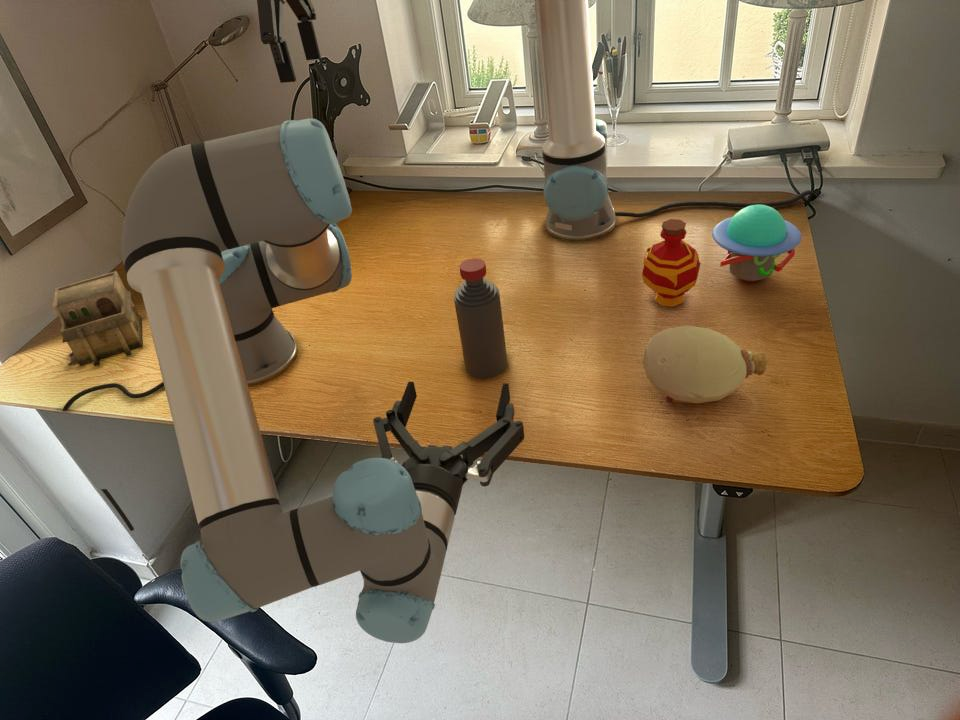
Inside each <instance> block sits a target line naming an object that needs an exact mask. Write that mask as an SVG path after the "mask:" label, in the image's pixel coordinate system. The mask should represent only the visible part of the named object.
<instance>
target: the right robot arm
mask: <svg viewBox="0 0 960 720" xmlns="http://www.w3.org/2000/svg"><path fill="white" fill-rule="evenodd" d="M533 1H534V9H535V19H536V30H537V39H538V49H539V58H540V66H541V67H540V68H541V76H542V87H543V94H544V104H545V114H546V123H547V132H548V134H547V135H548V137H547V139H546V140H545V142H543V144H542V146H541V152H542V162H543V164H542V165H543V173H544V185H543V189H542V190H543V191H542V192H543V196H544V201H545V204H546V206H547V207H548V209H547V213H546V216H545V229H546V232H547V233H548V234H549V236H550V235H551V236H552V237H553V238H556V239H558V240H561V241H567V242H586V241H587V242H588V241H594V240H597V239H600V238H604V237H605V236H607V235H608V234H610V233H611V232H613V230H614V229H615V227H616V223H617V218H616V217H627V218H628V217H629V218H645V217H649V216H652V215H655V214H657V213H660V212H663V211H665V210H668V209H673V208H681V207H707V206H708V207H728V208H742V209H743V208H745V207H748V206H751V205H766V206H769V207H772V208H774V207H781V206H786V205H792V204H793V203H796V202H797V201H800V200H801V199H803V198H804V197H807V196H809V195H810V196H812V197H814V198H817V197H819V196H820V195H819V194H818V195H817V196H813V195H812V194H811V190H812V189H809V190H804V191H803V192H801V193H799V194H797V195H795V196H793V197H792V198H790V199H785V200H784V199H783V200H778V201H769V202H768V201H767V202H731V201H717V200H715V201H714V200H712V201H711V200H709V201H707V200H705V201H704V200H700V201H699V200H697V201H696V200H693V201H690V200H689V201H678V202H672V203H667V204H664V205H661V206H659V207H656V208H653V209H651V210H648V211H644V212H629V211H615V209H614V205H613V204H612V200H611V198H610V195H609V185H608V137H609V133H608V126H607V123H606V122H605V121H604V120H601V119H600V118H596V113H595V111H596V110H595V99H594V78H593V68H592V67H593V66H592V65H593V64H592V49H591V34H590V20H589V19H590V18H589V17H590V16H589V2H588V1H589V0H533ZM256 3H257V4H256V5H257V13H258V24H259V34H260V35H259V36H260V41H261V42H262V44H263V45H269V48H270V51H271V54H272V58H273V61H274V64H275V68H276V72H277V75H278V79H279V83H280V84H284V83H294V82H296V81H297V78H296V77H297V76H296V74H295V70H294V66H293V62H292V58H291V56H290V51H289V48H288V44H287V41H286V40H284V39H283V38H284V34H283V33H284V32H283V31H284V5H285V4H287V5H288V6H289V8H290V10H291V11H292V12H293V14H294V15H295V17H296V18H297V20H298V22H297V23H296V25H297V29H298V33H299V37H300V41H301V44H302V49H303V53H304V56H305V60H306V61H314V60H321V59H322V56H321V53H320V47H319V44H318V43H319V42H318V40H317V36H316V32H315V27H314V23H313V21H316V20H317V14H316V11H315V7H314V5H313V3H312V0H256Z"/></svg>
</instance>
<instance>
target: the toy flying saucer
mask: <svg viewBox="0 0 960 720" xmlns="http://www.w3.org/2000/svg"><path fill="white" fill-rule="evenodd" d="M711 237H712V239H713V241H714V242H715V243H716V244H717V245H718V246H719V247H721V248H722V249H724V250H726V251H727V255H726V256H725V257H724V258H723V259H721V261H720V266H719V267H725V266H728V270H729V272H730V274H731V275H733V276H734V277H735V278H738V279H741V280H743V281H745V282H756V281H761V280H765V279H767V278H769V277H770V276H772V274H773V273H774V271H775V272H777V273H779V272H781V271H783V269H784V268H785V266H787V264H788V263H789V262H790V261H791V260H792V259H793V257H795V253H796V249H795V248H796V247H797V246H799V244H800V243H801V241H802V232H801V231H800V229H799V228H798V227H797V226H796V225H795V224H794V223H791V222H790V221H788V220H786V219H784V217H783V216H782V214H780V212H779V211H778V210H776V209H775V208H774V207H769V206H766V205H751V206H748V207H745V208H742V209H740V210H739V211H737V212H736V213H735V214H734V215H733V216H730V217H727V218H725V219H723V220H721V221H719V222H718V223H717V224H716V225H715V226H714V227H713V229H712V230H711ZM785 253H787V254H788V255H787V256H786V257H785V258H784V259H783V260H782V261H781V262H780V263H778V264H777V263H776V261H775V260H776V258H779V257H780V256H781V255H782V254H785Z"/></svg>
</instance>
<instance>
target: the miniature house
mask: <svg viewBox="0 0 960 720" xmlns="http://www.w3.org/2000/svg"><path fill="white" fill-rule="evenodd" d="M52 308H53V311H54V312H55V314H56V315H57V317H58V319H59V321H60V325H61V326H60V334H61V336H62V344H65V343H66V344H67V345H68V347H69V349H70V350H71V353H68V356H69V357H70V358H69V359H70V360H69V362H68V363H67V366H68V367H71V366H74V365H77V364H78V365H79V367H83V366H87V365H90V364H92V365H93V366H94V367H98V366H100V364H101V361H102V360H105V359H109V358H113V357H116V356H118V355H121V354H125V356H126V357H130V356H132V351H135V350H137V349H141V348H143V347H144V340H143V336H144V335H143V319H142V316H141V314H140V313H139V310H138V308H137V306H136V305H135V304H134V303H133V301H132V292H131V291H129V290H127V288H126V287H125V285H124V283H123V281H122V279H121V277H120V275H119V273H118V271H116V270H114V271H111V272H108V273H104V274H101V275H98V276H93V277H89V278H87V279H84V280H79V281H76V282H73V283H70V284H66V285H63V286H58V287H55V289H54V296H53V302H52Z"/></svg>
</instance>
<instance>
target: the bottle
mask: <svg viewBox="0 0 960 720" xmlns="http://www.w3.org/2000/svg"><path fill="white" fill-rule="evenodd" d="M500 294H501V293H500V289H499V288H498V287H497V285H496V284H495V283H493V282H492V281H490V280H488V279H487V278H485V277H483V278H482V279H480V280H476V281H467V280H464V281H463V282H462V283H461V284H460V285H459V286H458V287H457V288H456V290H455V291H454V293H453V302H454V308H455V313H456V314H455V315H456V321H457V325H458V332H459V338H460V344H461V348H462V349H461V350H462V355H463V362H464V367H465V371H466V372H467V373H468V375H470V376H471V377H474V378H478V379H489V378H493V377H496V376H499V375H500V374H502V373H503V372H504V371H505V370H506V369H507V367H508V355H507V345H506V336H505V329H504V319H503V311H502V302H501V295H500Z"/></svg>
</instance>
